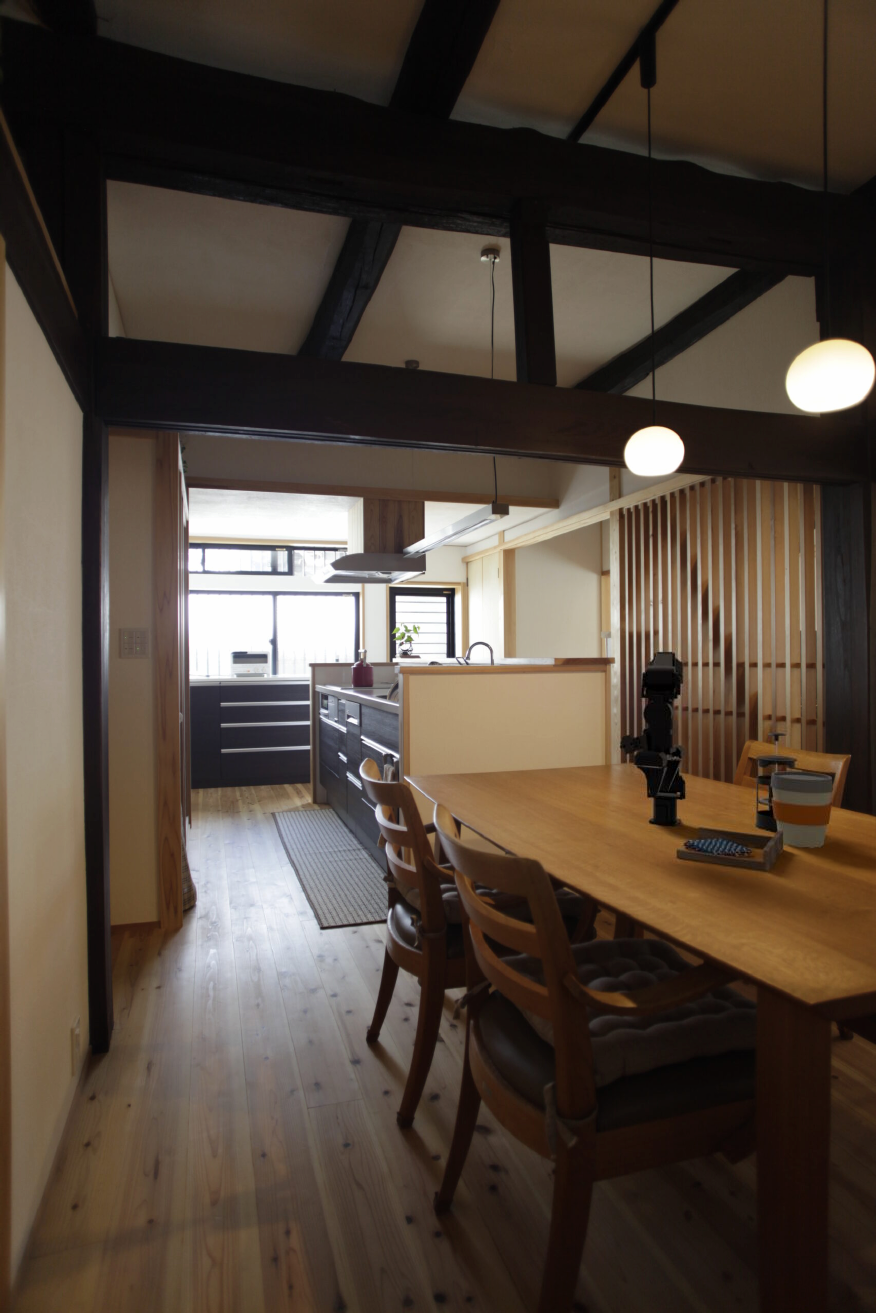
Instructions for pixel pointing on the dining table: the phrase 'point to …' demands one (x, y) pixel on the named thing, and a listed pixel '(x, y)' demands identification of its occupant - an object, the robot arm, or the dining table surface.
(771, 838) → the box
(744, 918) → the dining table surface
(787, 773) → the reusable coffee cup
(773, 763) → the french press
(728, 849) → the woven mat
